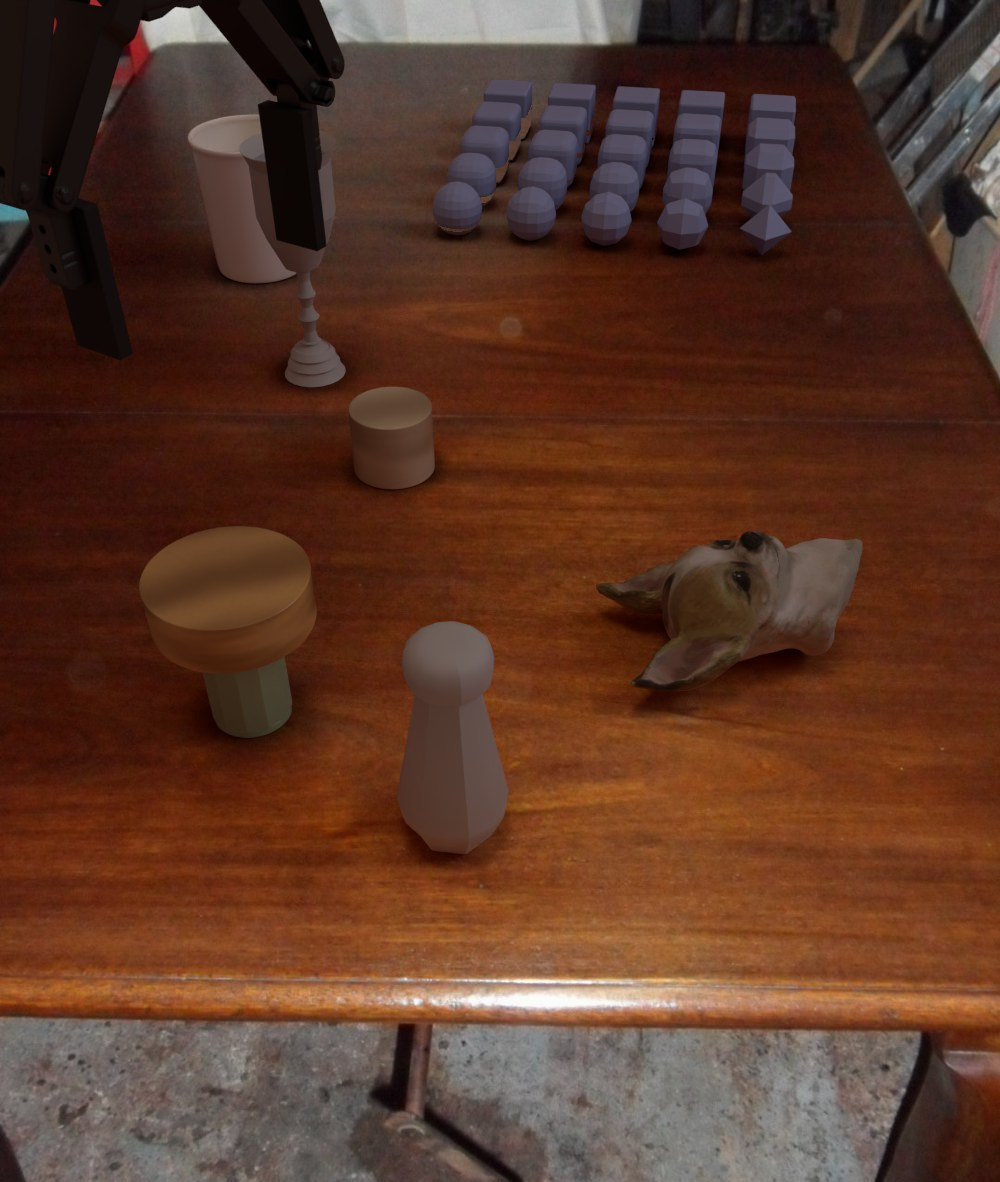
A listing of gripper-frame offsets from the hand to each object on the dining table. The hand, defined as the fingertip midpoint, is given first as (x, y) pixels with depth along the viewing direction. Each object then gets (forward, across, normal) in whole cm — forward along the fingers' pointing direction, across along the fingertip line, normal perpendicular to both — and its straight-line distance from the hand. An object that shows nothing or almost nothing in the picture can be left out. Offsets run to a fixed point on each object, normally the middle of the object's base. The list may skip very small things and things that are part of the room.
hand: (210, 293), depth 57 cm
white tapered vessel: (+23, +43, +38) cm, 62 cm away
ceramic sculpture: (+24, +16, -23) cm, 37 cm away
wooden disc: (+16, -4, -2) cm, 17 cm away
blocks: (+23, +79, +19) cm, 84 cm away
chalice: (+23, +29, +21) cm, 43 cm away
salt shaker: (+24, -5, -17) cm, 29 cm away
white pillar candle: (+23, +21, +7) cm, 32 cm away
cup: (+23, -4, -2) cm, 24 cm away
